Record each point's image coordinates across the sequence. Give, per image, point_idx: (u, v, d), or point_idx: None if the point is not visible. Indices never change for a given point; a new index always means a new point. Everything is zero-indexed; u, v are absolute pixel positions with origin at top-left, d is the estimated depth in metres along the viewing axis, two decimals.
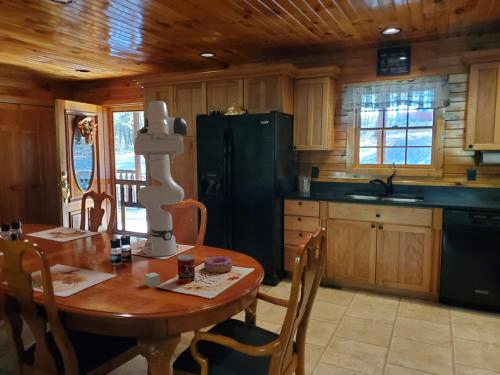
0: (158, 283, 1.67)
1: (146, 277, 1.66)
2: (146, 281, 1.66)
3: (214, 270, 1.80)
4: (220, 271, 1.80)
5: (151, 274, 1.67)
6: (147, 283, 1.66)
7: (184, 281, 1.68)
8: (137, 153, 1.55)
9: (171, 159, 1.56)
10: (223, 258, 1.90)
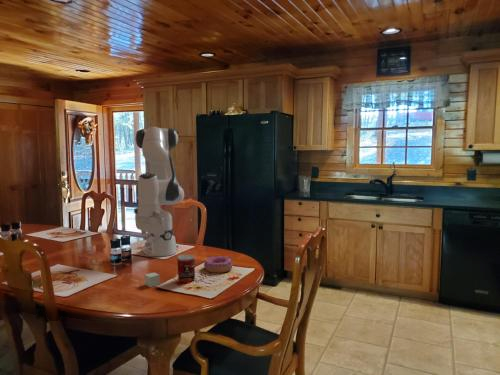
0: (158, 283, 1.67)
1: (146, 277, 1.66)
2: (146, 281, 1.66)
3: (214, 270, 1.80)
4: (220, 271, 1.80)
5: (151, 274, 1.67)
6: (147, 283, 1.66)
7: (184, 281, 1.68)
8: None
9: (154, 241, 1.61)
10: (223, 258, 1.90)
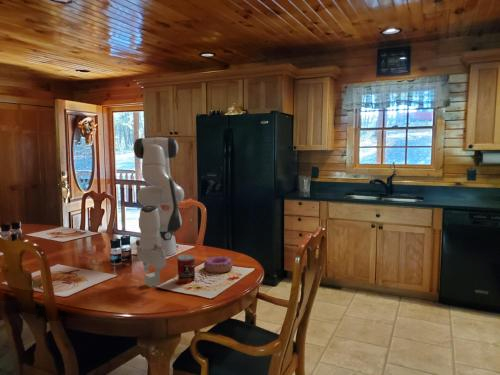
0: (158, 283, 1.67)
1: (146, 277, 1.66)
2: (146, 281, 1.66)
3: (214, 270, 1.80)
4: (220, 271, 1.80)
5: (151, 274, 1.67)
6: (147, 283, 1.66)
7: (184, 281, 1.68)
8: None
9: (155, 274, 1.62)
10: (223, 258, 1.90)
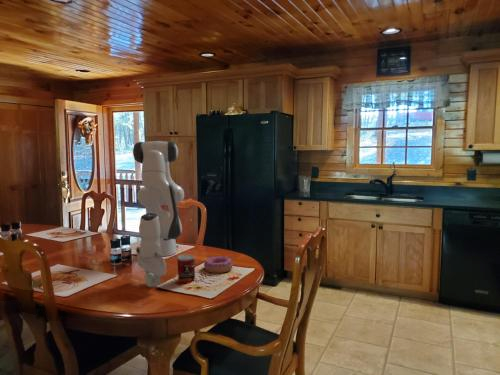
0: (158, 283, 1.67)
1: (146, 277, 1.66)
2: (146, 281, 1.66)
3: (214, 270, 1.80)
4: (220, 271, 1.80)
5: (151, 274, 1.67)
6: (147, 283, 1.66)
7: (184, 281, 1.68)
8: None
9: (153, 280, 1.64)
10: (223, 258, 1.90)
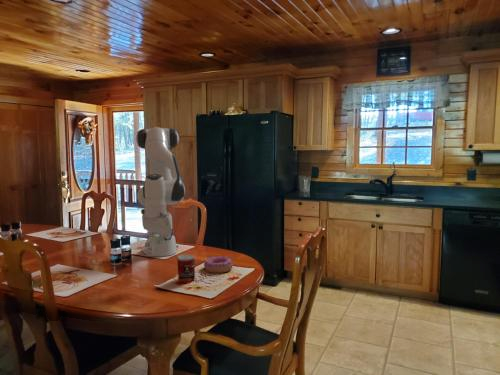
0: (163, 244, 1.66)
1: (151, 238, 1.65)
2: (151, 242, 1.65)
3: (214, 270, 1.80)
4: (220, 271, 1.80)
5: (156, 235, 1.66)
6: (152, 244, 1.65)
7: (184, 281, 1.68)
8: None
9: (158, 241, 1.63)
10: (223, 258, 1.90)
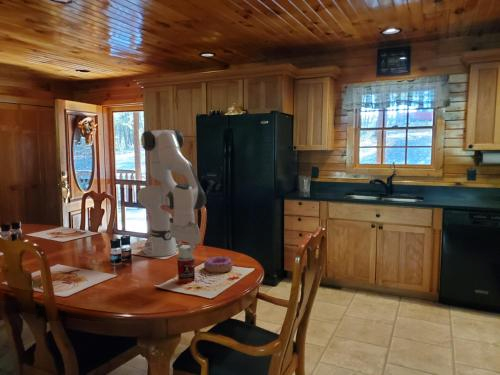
0: (191, 255, 1.70)
1: (180, 249, 1.70)
2: (180, 253, 1.70)
3: (214, 270, 1.80)
4: (220, 271, 1.80)
5: (184, 246, 1.71)
6: (181, 255, 1.69)
7: (184, 281, 1.68)
8: None
9: (189, 250, 1.66)
10: (223, 258, 1.90)
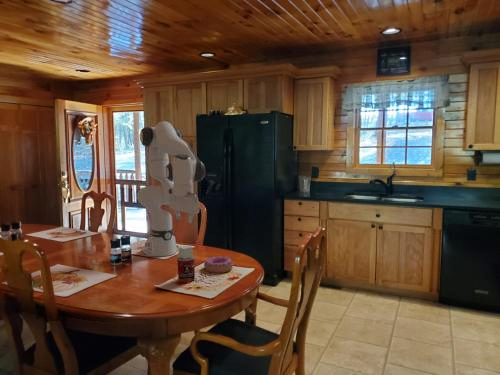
0: (191, 255, 1.70)
1: (180, 249, 1.70)
2: (180, 253, 1.70)
3: (214, 270, 1.80)
4: (220, 271, 1.80)
5: (184, 246, 1.71)
6: (181, 255, 1.69)
7: (184, 281, 1.68)
8: None
9: (188, 220, 1.67)
10: (223, 258, 1.90)
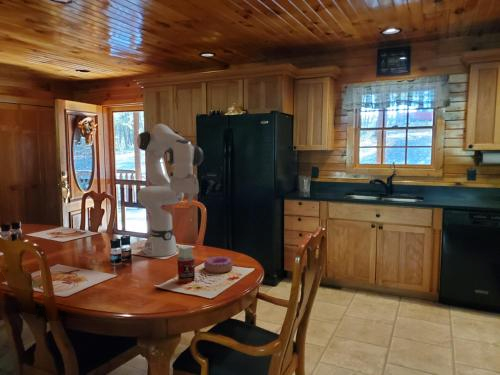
0: (191, 255, 1.70)
1: (180, 249, 1.70)
2: (180, 253, 1.70)
3: (214, 270, 1.80)
4: (220, 271, 1.80)
5: (184, 246, 1.71)
6: (181, 255, 1.69)
7: (184, 281, 1.68)
8: None
9: (188, 200, 1.78)
10: (223, 258, 1.90)
